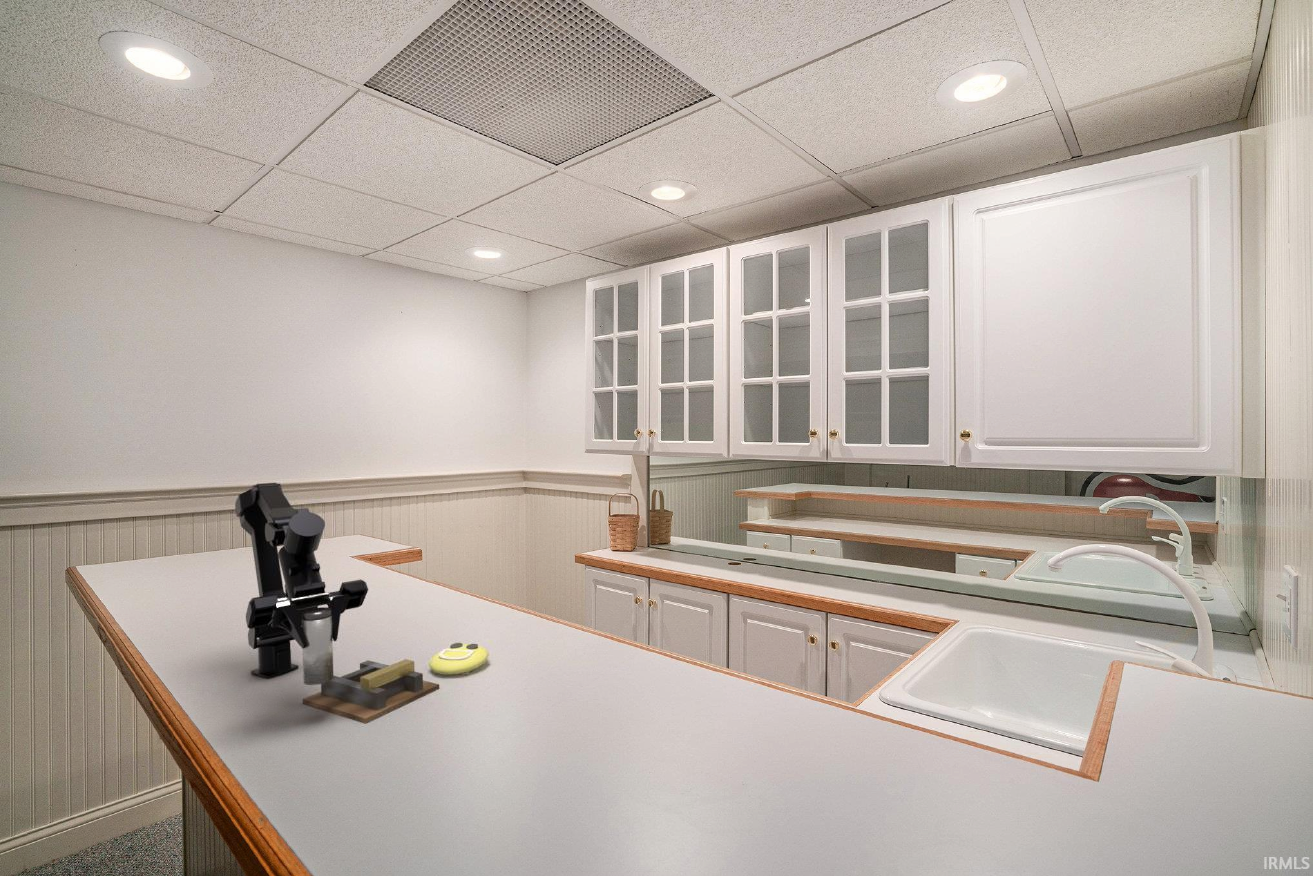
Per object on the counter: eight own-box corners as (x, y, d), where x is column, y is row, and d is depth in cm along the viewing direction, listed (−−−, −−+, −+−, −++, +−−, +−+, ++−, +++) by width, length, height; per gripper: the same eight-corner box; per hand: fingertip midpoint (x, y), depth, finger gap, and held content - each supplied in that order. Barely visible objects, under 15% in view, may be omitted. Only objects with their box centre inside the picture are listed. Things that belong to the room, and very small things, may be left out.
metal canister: (297, 682, 108) (295, 613, 108) (320, 673, 112) (318, 606, 112) (317, 686, 106) (315, 616, 106) (339, 676, 111) (337, 608, 110)
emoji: (471, 664, 125) (497, 639, 137) (416, 661, 127) (447, 637, 139) (472, 682, 125) (498, 656, 137) (418, 680, 127) (448, 654, 139)
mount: (302, 703, 116) (301, 682, 116) (377, 673, 130) (377, 654, 130) (365, 723, 107) (365, 701, 107) (439, 688, 121) (438, 669, 121)
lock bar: (360, 688, 112) (360, 677, 112) (406, 669, 121) (405, 659, 121) (369, 690, 111) (368, 679, 111) (414, 671, 120) (414, 661, 120)
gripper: (344, 586, 127) (365, 654, 119) (235, 605, 114) (250, 683, 106) (357, 552, 121) (380, 621, 113) (243, 568, 108) (260, 648, 100)
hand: (320, 643), depth 108 cm, fingers closed on metal canister, 5 cm apart
